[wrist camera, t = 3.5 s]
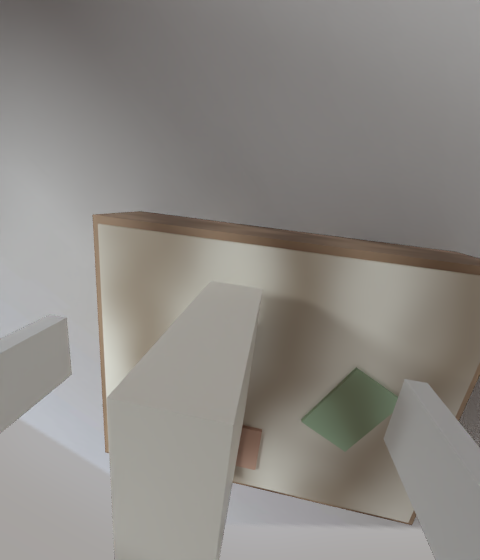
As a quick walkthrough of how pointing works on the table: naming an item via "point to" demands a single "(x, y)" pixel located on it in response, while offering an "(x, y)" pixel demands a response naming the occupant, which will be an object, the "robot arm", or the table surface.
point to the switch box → (301, 341)
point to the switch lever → (182, 429)
